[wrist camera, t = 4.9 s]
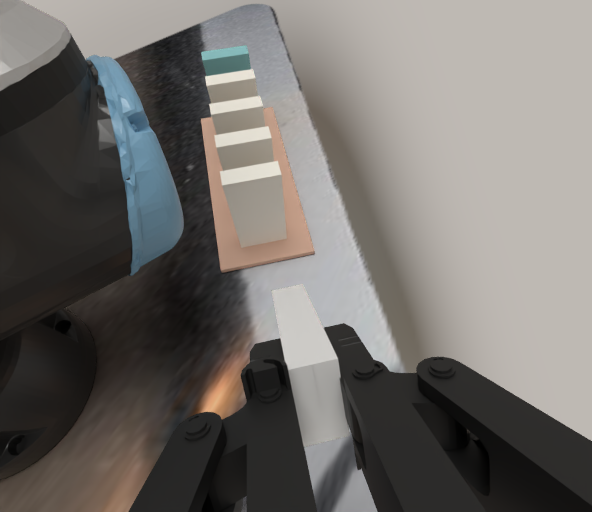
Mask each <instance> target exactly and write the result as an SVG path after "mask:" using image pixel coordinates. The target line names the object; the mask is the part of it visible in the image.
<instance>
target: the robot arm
mask: <svg viewBox="0 0 592 512" xmlns="http://www.w3.org/2000/svg"><path fill="white" fill-rule="evenodd" d="M183 228H184V220H183V213H182V208H181V204H180V200H179V197H178V193H177V190H176V187H175V184H174V181H173V178H172V175H171V173H170V170H169V167H168V164H167V162H166V159H165V157H164V154H163V151H162V149H161V147H160V144H159V142H158V140H157V137H156V135H155V133H154V132H153V130H152V129H151V128H150V127H149V121H148V119H147V117H146V115H145V112H144V109H143V107H142V104H141V101H140V99H139V97H138V95H137V93H136V91H135V89H134V87H133V85H132V83H131V82H130V80H129V78H128V76H127V75H126V73H125V72H124V70H123V69H122V68H121V66H120V65H119V64H118V63H117V62H116V61H115V60H114V59H112V58H110V57H99V56H97V55H93V56H90V57H89V58H87V59H86V60H85V58H84V56H83V55H82V53H81V51H80V50H79V48H78V46H77V44H76V43H75V41H74V39H73V37H72V35H71V34H70V32H69V30H68V28H67V27H66V25H65V24H64V23H63V22H62V21H60V20H58V19H56V18H54V17H52V16H50V15H48V14H46V13H44V12H42V11H40V10H38V9H37V8H35V7H33V6H31V5H29V4H27V3H25V2H23V1H21V0H0V480H1V479H4V478H6V477H9V476H11V475H13V474H16V473H18V472H20V471H21V470H23V469H25V468H27V467H28V466H30V465H31V464H33V463H34V462H36V461H37V460H39V459H40V458H41V457H43V456H44V455H45V454H46V453H47V452H49V451H50V450H51V449H52V448H53V447H54V446H55V445H56V444H57V443H58V442H59V441H60V440H61V439H62V438H63V437H64V435H65V434H66V433H67V432H68V431H69V429H70V428H71V427H72V425H73V424H74V422H75V421H76V419H77V418H78V416H79V415H80V413H81V411H82V409H83V408H84V406H85V404H86V401H87V399H88V397H89V394H90V391H91V389H92V385H93V382H94V377H95V371H96V350H95V345H94V341H93V338H92V336H91V333H90V331H89V330H88V328H87V327H86V325H85V324H84V323H83V322H82V321H81V320H80V319H79V318H78V317H77V316H75V315H74V314H73V313H71V312H69V311H67V310H66V309H64V308H65V307H67V306H69V305H71V304H72V303H74V302H76V301H78V300H80V299H82V298H84V297H86V296H88V295H90V294H92V293H94V292H96V291H98V290H100V289H102V288H104V287H105V286H107V285H109V284H111V283H113V282H115V281H117V280H119V279H121V278H123V277H125V276H127V275H129V276H132V275H134V274H135V272H138V270H139V268H140V267H141V266H143V265H145V264H146V263H148V262H150V261H151V260H153V259H155V258H157V257H158V256H160V255H162V254H164V253H165V252H167V251H169V250H170V249H172V248H173V247H174V246H175V245H176V243H177V242H178V240H179V238H180V237H181V235H182V232H183ZM271 291H272V297H273V302H274V307H275V312H276V318H277V323H278V328H279V333H280V339H275V340H271V341H266V342H262V343H257V344H255V345H254V347H253V348H252V350H251V351H250V363H249V364H248V365H247V366H246V367H245V368H244V369H243V370H242V373H241V379H242V383H243V387H244V391H245V395H246V399H247V403H246V404H245V406H244V407H243V408H242V409H240V410H239V411H238V412H236V413H234V414H233V415H231V416H229V417H227V418H225V419H223V420H222V419H221V417H220V416H219V415H217V414H216V413H213V412H203V413H199V414H196V415H193V416H191V417H189V418H187V419H186V420H185V421H183V422H182V423H181V424H179V426H178V427H177V428H176V429H175V431H174V432H173V434H172V436H171V438H170V439H169V441H168V443H167V445H166V446H165V448H164V450H163V452H162V453H161V455H160V457H159V459H158V461H157V462H156V464H155V466H154V468H153V469H152V471H151V473H150V475H149V476H148V478H147V480H146V482H145V484H144V485H143V487H142V489H141V491H140V492H139V494H138V496H137V498H136V499H135V501H134V503H133V505H132V507H131V508H130V510H129V512H241V510H242V506H243V498H244V497H245V496H247V512H317V509H316V504H315V500H314V495H313V490H312V485H311V480H310V475H309V470H308V465H307V460H306V455H305V451H304V447H307V446H311V445H315V444H319V443H323V442H327V441H331V440H335V439H339V438H343V437H347V436H350V433H349V428H350V430H351V433H352V437H353V443H354V450H355V456H356V463H357V469H358V470H360V469H361V468H362V471H363V474H364V476H365V479H366V482H367V484H368V487H369V490H370V492H371V495H372V498H373V500H374V503H375V506H376V508H377V511H378V512H592V441H590V440H588V439H587V438H585V437H584V436H582V435H580V434H579V433H577V432H575V431H574V430H572V429H570V428H569V427H567V426H565V425H564V424H562V423H560V422H559V421H557V420H555V419H554V418H552V417H550V416H549V415H547V414H545V413H544V412H542V411H540V410H539V409H537V408H535V407H534V406H532V405H530V404H529V403H527V402H525V401H524V400H522V399H520V398H519V397H517V396H515V395H514V394H512V393H510V392H509V391H507V390H505V389H504V388H502V387H500V386H498V385H497V384H495V383H494V382H492V381H490V380H489V379H487V378H485V377H484V376H482V375H480V374H479V373H477V372H475V371H474V370H472V369H470V368H469V367H467V366H465V365H463V364H462V363H460V362H458V361H456V360H454V359H451V358H445V357H431V358H428V359H424V360H423V361H421V362H420V363H419V364H418V366H417V373H394V372H390V371H389V370H388V368H387V367H386V366H385V365H384V364H383V363H381V362H379V361H376V360H373V358H372V357H371V355H370V354H369V352H368V350H367V349H366V347H365V346H364V344H363V343H362V342H361V340H360V338H359V337H358V335H357V334H356V332H355V331H354V329H353V328H352V327H350V326H348V325H346V324H344V323H343V324H339V325H334V326H330V327H325V328H323V326H322V324H321V322H320V319H319V317H318V315H317V313H316V311H315V309H314V307H313V305H312V302H311V300H310V298H309V296H308V294H307V292H306V290H305V288H304V285H303V284H300V285H295V286H290V287H286V288H281V289H276V290H271ZM348 425H349V427H348Z"/></svg>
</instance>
